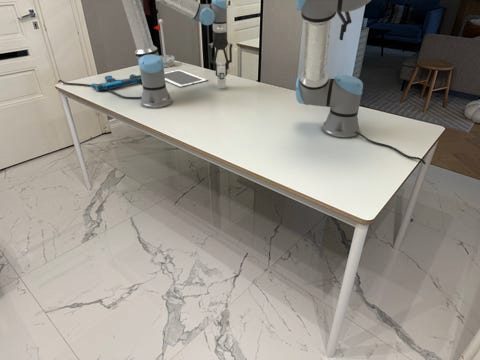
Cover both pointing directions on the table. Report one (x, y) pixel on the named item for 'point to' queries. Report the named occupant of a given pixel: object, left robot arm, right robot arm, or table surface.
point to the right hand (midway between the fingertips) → (326, 39)
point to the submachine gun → (116, 82)
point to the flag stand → (166, 59)
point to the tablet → (182, 78)
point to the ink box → (221, 75)
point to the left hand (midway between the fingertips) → (221, 75)
